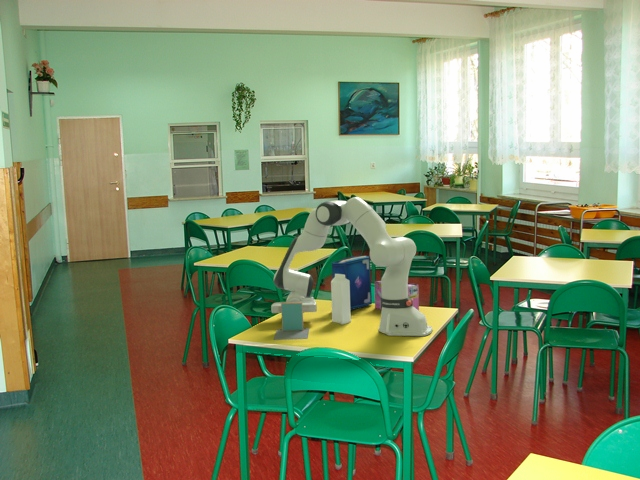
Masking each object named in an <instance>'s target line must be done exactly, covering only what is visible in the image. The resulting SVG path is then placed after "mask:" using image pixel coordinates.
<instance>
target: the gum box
mask: <svg viewBox="0 0 640 480" xmlns="http://www.w3.org/2000/svg"><path fill="white" fill-rule="evenodd" d="M419 291H420V289H419V284H417V283H411V282H408V297H409V298H411V299H412V298H413V307H415V308H416V309H417V310H418V311H420V305H419V304H420V302H419V301H420V298H419V297H420V292H419ZM381 297H382V296H381V280H378V281H376V280H374V308H375V309H378V310H381V307H380V300H381Z"/></svg>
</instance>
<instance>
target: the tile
mask: <svg viewBox="0 0 640 480" xmlns="http://www.w3.org/2000/svg"><path fill="white" fill-rule="evenodd" d="M281 302H282V303H281V312H282V313H281V329H282V331H301V330H304V328H305V327H304V313H303V303H302V302H286V301H281Z"/></svg>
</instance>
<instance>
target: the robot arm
mask: <svg viewBox="0 0 640 480" xmlns="http://www.w3.org/2000/svg"><path fill="white" fill-rule="evenodd" d="M349 224H351V225H352V226H353V227H354V228H355V229H356V231H357V232H358V233H359V235H361V236H362V238H363V239H364V241H365V242H366V244H367V246H368V248H369V257H370V262H371V263H373V264H374V265H375V266H377V267H381V268H382V267H383V268H384V267H386V268H385V270H384V273H383V274H382V277H381V280H380V281H381V296H382V297H381V300H380V307H381V309H380V310H381V312H380V320H379V321H380V322H379V325H378V326H379V327H378V332H380V333H383V334H385V335H386V336H392V337H394V336H399V337H402V336H403V337H404V336H405V337H410V336H411V337H425V336H428V335H430V334H431V333H432V332H433V327H432V326H431V325H428V320H427V317H426V315H425V314H424V313H423V312H421V311H420V310H419V311H418V310H417V309H416V308H415V307H413V298H412V299H411V298H409V297H408V283H409V274H410V269H411V265H412V261H413V259H414V257H415V255H416V254H417V246H416V243H415V242H414V240H413V239H411V238H409V237H405V236H398V237H391V236H390V235H389V233H388V230H387V224H386V222H385V221H384V220H383V218H382V217H381V216H380V215H379V214H378V213H377V212H376V211H375V209H373V207H372V206H371V205H370V204H368V202H366V201H365V200H363V199H362V198H361V197H358V196H353V197H351V198H349V199H348V200H338V199H336V200H329V201H324V202H321V203H320V204H318V205H317V207H315V208H313V209H312V210H310V213H309V215H308V217H307V219H306V222H305V224H304V228H303V231H302V233H301V234H300V235H298V236H295V237H294V238H293V240H291V243H290V245H289V247H288V249H287V250H286V252H285V255H284V257H283V259H282V261H281V264H280V266H279V267H278V269H277V270H276V272H275V273H274V276H273V283H274V285H275V287H276V288H277V289H280V290H286V291H289V292H290V293H289V294H288V296H287V298H286V301H285V302H302V303H303V314H304V313H317V311H318V307H317V302H316V300H315V298H314V297H313V296H311V295H312V292H313V287H314V279H313V276H312V275H311V274H309V273H306V272H300V271H296V270H293V269H292V268H290V266H291V264H292V261H293V260H294V259H295V258H294V257H295V256H296V254H298V253H299V254H300V253H304V252H314V251H317V250H320V249H321V248H322V247H323V246H325V243H326V240H327V238H328V234H329V230H330V228H331V227H332V226H342V225H349ZM282 302H283V301H277V302H273V303H272V304H271V305H270V306H271V307H270V308H271V310H270V311H271V313H272V314H282V312H281V303H282Z"/></svg>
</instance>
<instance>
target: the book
mask: <svg viewBox="0 0 640 480" xmlns="http://www.w3.org/2000/svg"><path fill="white" fill-rule="evenodd" d="M331 273H332V275H331V277H332V280H333V279H334V277H335V274H344V275H345V278H346V279H348V280H349V281H350V311H354V310H358V309H362V308H365V307H367V306H370V305H372V304H373V297H372V295H373V294H372V279H371V278H372V276H371V275H372V274H371V273H372V272H371V258H370V255H354V256H349V257H348V256H347V257H345V258H341V259H340V260H335V261H333V262H331ZM357 308H358V309H357ZM353 309H354V310H353Z"/></svg>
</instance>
